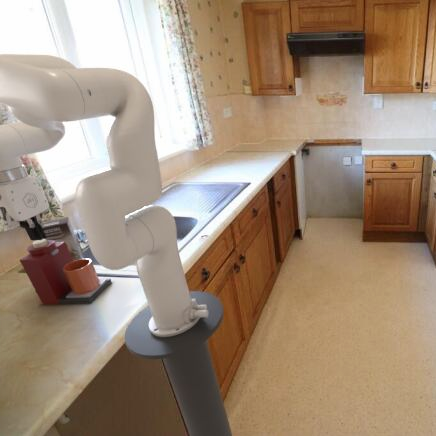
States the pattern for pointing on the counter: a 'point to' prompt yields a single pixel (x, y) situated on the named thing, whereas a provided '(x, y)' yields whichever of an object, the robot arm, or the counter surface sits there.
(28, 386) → the counter surface
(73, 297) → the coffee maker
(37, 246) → the brew button
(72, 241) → the coffee box
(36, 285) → the column
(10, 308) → the counter surface
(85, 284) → the cup
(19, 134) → the robot arm
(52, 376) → the counter surface
